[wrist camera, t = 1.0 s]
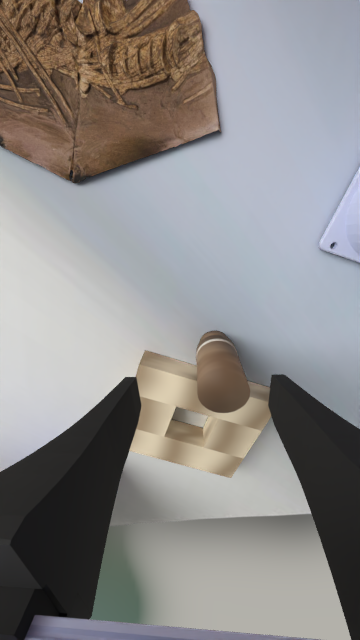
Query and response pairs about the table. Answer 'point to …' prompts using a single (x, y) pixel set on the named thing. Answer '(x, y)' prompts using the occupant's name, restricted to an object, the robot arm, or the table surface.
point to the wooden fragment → (101, 82)
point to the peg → (220, 374)
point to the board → (187, 440)
